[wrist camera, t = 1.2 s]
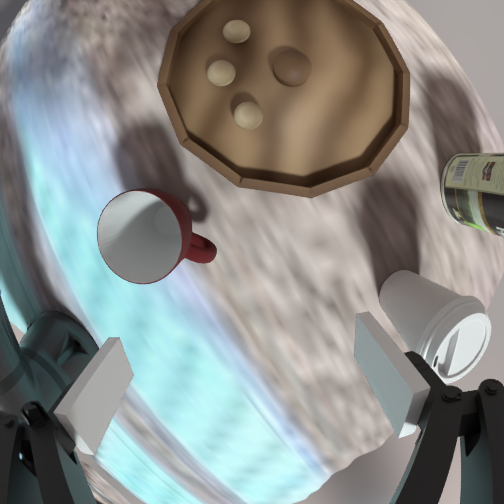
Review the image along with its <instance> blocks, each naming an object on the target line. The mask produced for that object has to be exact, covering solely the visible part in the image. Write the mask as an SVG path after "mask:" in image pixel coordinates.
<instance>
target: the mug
mask: <svg viewBox="0 0 504 504" xmlns="http://www.w3.org/2000/svg"><path fill="white" fill-rule="evenodd" d="M97 241H98V246H99V250H100V253H101V255H102V257H103V259H104V261H105V262H106V264H107V265H108V267H109V268H110V269H111V270H112V271H113V272H114V273H115V274H116V275H118V276H119V277H121V278H122V279H124V280H126V281H129V282H132V283H136V284H150V283H154V282H157V281H159V280H161V279H163V278H165V277H166V276H167V275H169V274H170V273H171V272H172V271H173V270H174V269H175V267H176V266H177V265H178V264H179V263H180V262H181V261H182V260H183V259H184V258H187V259H189V260H191V261H194V262H197V263H209V262H211V261H212V260H214V258H215V256H216V253H217V249H216V246H215V245H214V244H213V243H212V242H211V241H210V240H208V239H206V238H204V237H202V236H200V235H198V234H195V233H193V232H192V220H191V216H190V213H189V211H188V209H187V207H186V206H185V205H184V203H183V202H181V201H180V200H179V199H178V198H176V197H174V196H172V195H170V194H168V193H166V192H163V191H160V190H157V189H149V188H143V189H135V190H130V191H126V192H123V193H121V194H119V195H117V196H116V197H114V198H113V199H112V200H111V201H110V202H109V203H108V204H107V205H106V207H105V208H104V210H103V211H102V213H101V216H100V218H99V222H98V227H97Z"/></svg>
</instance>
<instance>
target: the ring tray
mask: <svg viewBox="0 0 504 504" xmlns="http://www.w3.org/2000/svg"><path fill="white" fill-rule="evenodd" d="M232 20H242V21H244V22H246V23H247V24H248V25H249V27H250V36H249V37H248V39H247V40H245V41H244V42H241V43H231V42H229V41H227V40H226V39H225V37H224V35H223V28H224V26H225V25H226V24H227V23H228V22H230V21H232ZM219 60H225V61H228V62H230V63H231V64H232V65H233V66H234V68H235V71H236V75H235V78H234V80H233V81H232V82H231V83H230V84H228V85H226V86H216V85H214V84H212V83H211V82H210V81H209V80H208V77H207V70H208V68H209V66H210V65H211V64H212V63H213V62H215V61H219ZM157 88H158V90H159V93H160V95H161V98H162V100H163V103H164V105H165V108H166V111H167V113H168V116H169V118H170V121H171V123H172V126H173V128H174V131H175V133H176V135H177V138H178V140H179V143H180V144H181V145H182V146H183V147H184V148H186V149H187V150H189V151H190V152H191V153H193V154H194V155H195V156H197V157H198V158H200V159H201V160H202V161H204V162H205V163H206V164H208V165H209V166H210V167H212V168H213V169H215V170H216V171H217V172H219V173H220V174H221V175H223V176H224V177H225V178H227V179H228V180H229V181H231V182H232V183H233V184H235V185H236V186H237V187H238V186H239V187H241V188H248V189H255V190H262V191H269V192H276V193H283V194H289V195H295V196H301V197H307V198H313V197H316V196H318V195H321V194H324V193H326V192H329V191H332V190H334V189H337V188H340V187H342V186H345V185H348V184H351V183H353V182H356V181H359V180H362V179H364V178H367V177H370V176H373V175H374V174H375V173H376V171H377V170H378V169H379V167H380V166H381V165H382V163H383V162H384V161H385V159H386V158H387V157H388V155H389V154H390V153H391V151H392V150H393V149H394V147H395V146H396V145H397V143H398V142H399V140H400V139H401V138H402V136H403V135H404V133H405V132H406V131H407V129H408V123H409V105H410V72H409V70H408V68H407V66H406V64H405V62H404V60H403V58H402V56H401V54H400V52H399V50H398V48H397V46H396V45H395V43H394V41H393V39H392V37H391V36H390V34H389V32H388V31H387V29H386V27H385V26H384V24H383V23H382V22H381V21H380V20H379V19H378V18H376V17H375V16H374V15H372V14H371V13H370V12H368V11H367V10H366V9H364V8H363V7H362V6H360V5H359V4H357V3H356V2H355V1H353V0H202V1H201V2H200V3H199V4H198V5H197V6H196V7H195V8H193V9H192V10H191V11H190V12H189V13H188V14H187V15H186V16H185V17H184V18H183V19H182V20H181V21H180V22H179V23H178V24H177V25H176V26H175V27H174V28H173V29H172V30H171V31H170V35H169V39H168V42H167V46H166V50H165V53H164V57H163V61H162V65H161V70H160V74H159V78H158V83H157ZM243 102H254V103H256V104H257V105H259V106H260V107H261V109H262V111H263V120H262V122H261V124H260V125H259V126H258V127H257V128H255V129H251V130H245V129H242V128H240V127H239V126H238V125H237V124H236V123H235V121H234V111H235V109H236V107H237V106H238V105H239V104H241V103H243Z"/></svg>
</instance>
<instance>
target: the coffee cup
mask: <svg viewBox="0 0 504 504" xmlns="http://www.w3.org/2000/svg"><path fill="white" fill-rule="evenodd" d="M379 302H380V305H381V307H382V309H383V311H384V312H385V313H386V315H387V316H388V318H389V319H390V321H391V322H392V324H393V325H394V327H395V328H396V330H397V331H398V333H399V334H400V336H401V338H402V339H403V341H404V342H405V344H406V345H407V347H408V349H409V350H410V351H414V352H415V353H417V354H419V355H421V356H422V357H423V359H424V360H425V361H426V363H428V364H429V366H430V367H431V368H432V369H433V370H434V371H435V373H436V374H437V375H438V376H439V377H440V378H441V380H442V381H443V382H444V383H445V384H447V383H451V382H454V381H456V380H458V379H460V378H461V377H463V376H464V375H466V374H467V373H468V372H469V371H470V370H471V369H472V368H473V367H474V366H475V365H476V364H477V362H478V361H479V360H480V358H481V357H482V355H483V353H484V351H485V349H486V347H487V345H488V342H489V339H490V334H491V323H490V319H489V318H488V314H487V311H486V309H485V307H484V305H483V304H482V303H481V301H480V300H479V299H478V298H476V297H474V296H462V295H459V294H457V293H455V292H453V291H451V290H449V289H447V288H445V287H443V286H441V285H439V284H437V283H435V282H432V281H430V280H428V279H426V278H424V277H422V276H420V275H418V274H416V273H413V272H411V271H409V270H400V271H397V272H395V273H393V274H391V275H390V276H389V277H388V278H387V279H386V280H385V282H384V283H383V285H382V287H381V290H380V294H379Z"/></svg>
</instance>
